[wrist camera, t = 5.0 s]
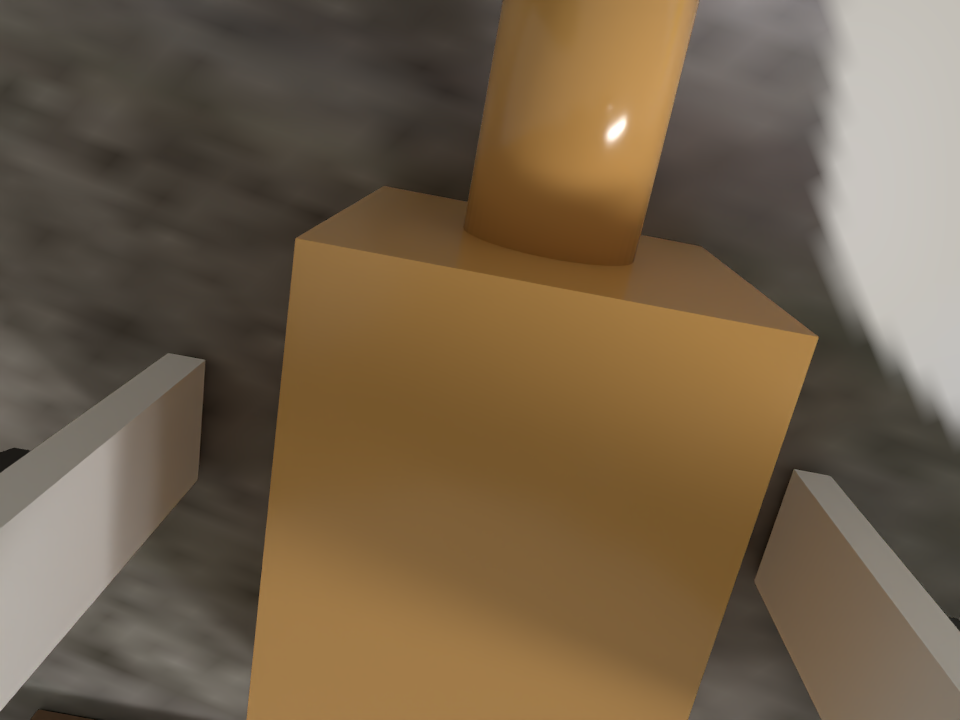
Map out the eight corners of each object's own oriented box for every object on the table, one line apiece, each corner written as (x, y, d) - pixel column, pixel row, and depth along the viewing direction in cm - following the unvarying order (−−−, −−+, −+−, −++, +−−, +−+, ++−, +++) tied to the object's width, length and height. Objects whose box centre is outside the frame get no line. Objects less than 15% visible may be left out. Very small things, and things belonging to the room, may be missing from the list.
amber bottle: (563, 736, 18) (583, 1025, 12) (315, 691, 18) (221, 961, 12) (796, -104, 12) (1029, -279, 7) (435, -174, 12) (361, -413, 7)
